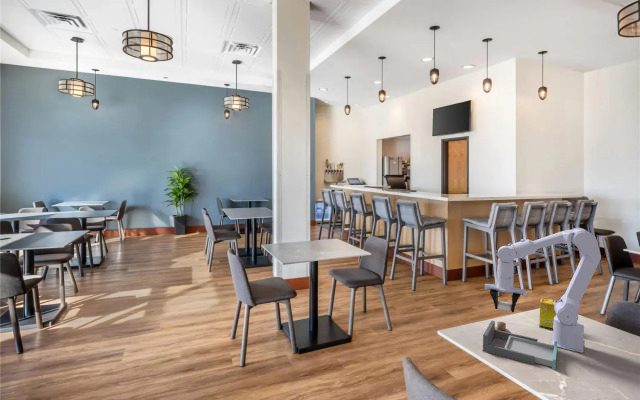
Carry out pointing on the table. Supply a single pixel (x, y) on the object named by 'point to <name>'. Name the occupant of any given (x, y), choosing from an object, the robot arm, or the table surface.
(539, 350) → the tray
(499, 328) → the disc stand
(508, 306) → the white round dome
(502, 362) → the table surface
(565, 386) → the table surface
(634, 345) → the table surface
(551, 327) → the supplement box
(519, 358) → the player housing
